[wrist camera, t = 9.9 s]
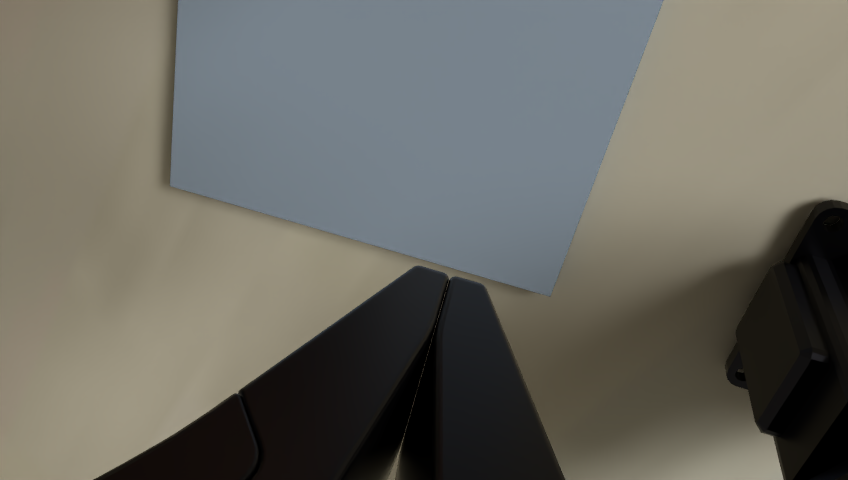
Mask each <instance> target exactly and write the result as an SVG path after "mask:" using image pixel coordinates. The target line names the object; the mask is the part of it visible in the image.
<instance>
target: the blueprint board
mask: <svg viewBox="0 0 848 480" xmlns="http://www.w3.org/2000/svg"><path fill="white" fill-rule="evenodd" d="M662 3H663V0H178V16H177V38H176V61H175V84H174V106H173V129H172V151H171V174H170V186H172V187H175V188H178V189H182V190H185V191H189V192H192V193H196V194H199V195H202V196H206V197H209V198H213V199H216V200H220V201H223V202H227V203H230V204H233V205H237V206H240V207H244V208H247V209H251V210H254V211H257V212H261V213H264V214H268V215H271V216H275V217H278V218H281V219H285V220H288V221H292V222H295V223H299V224H302V225H306V226H309V227H312V228H316V229H319V230H323V231H326V232H330V233H333V234H336V235H340V236H343V237H347V238H350V239H354V240H357V241H360V242H364V243H367V244H371V245H374V246H378V247H381V248H385V249H388V250H391V251H395V252H398V253H402V254H405V255H409V256H412V257H415V258H419V259H422V260H426V261H429V262H433V263H436V264H440V265H443V266H446V267H450V268H453V269H457V270H460V271H464V272H467V273H470V274H474V275H477V276H481V277H484V278H488V279H491V280H494V281H498V282H501V283H505V284H508V285H512V286H515V287H519V288H522V289H525V290H529V291H532V292H536V293H539V294H543V295H546V296H549V297H550V296H551V293H552V291H553V288H554V286H555V283H556V280H557V278H558V275H559V273H560V270H561V267H562V265H563V262H564V259H565V257H566V254H567V252H568V249H569V246H570V244H571V241H572V239H573V236H574V233H575V231H576V228H577V225H578V223H579V220H580V218H581V215H582V212H583V210H584V207H585V205H586V202H587V199H588V197H589V194H590V191H591V189H592V186H593V184H594V181H595V178H596V176H597V173H598V170H599V168H600V165H601V163H602V160H603V157H604V155H605V152H606V150H607V147H608V144H609V142H610V139H611V136H612V134H613V131H614V129H615V126H616V123H617V121H618V118H619V116H620V113H621V110H622V108H623V105H624V102H625V100H626V97H627V95H628V92H629V89H630V87H631V84H632V81H633V79H634V76H635V74H636V71H637V68H638V66H639V63H640V61H641V58H642V55H643V53H644V50H645V47H646V45H647V42H648V40H649V37H650V34H651V32H652V29H653V27H654V24H655V21H656V19H657V16H658V13H659V11H660V8H661V6H662Z"/></svg>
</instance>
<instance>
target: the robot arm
mask: <svg viewBox="0 0 848 480" xmlns="http://www.w3.org/2000/svg"><path fill="white" fill-rule="evenodd" d="M831 216H839V217H840V219H839V220H838V221H837V222H836V223H834V224H832V225H825V224H823V222H824V221H825V220H826V219H827V218H828V217H831ZM448 281H449V283H448ZM447 285H448V286H447ZM446 288H447V290H446ZM445 292H446V293H445ZM444 295H445V297H444ZM443 299H444V300H443ZM442 302H443V303H442ZM441 306H442V307H441ZM440 309H441V310H440ZM439 313H440V314H439ZM438 316H439V317H438ZM437 319H438V321H437ZM436 323H437V324H436ZM435 326H436V328H435ZM434 330H435V331H434ZM433 333H434V334H433ZM432 337H433V338H432ZM736 337H737V341H738V342H737V343H736V345H735V347H734V349H733V351H732V352H731V354H730V356H729V358H728V359H727V361H726V364H725V369H726V374H727V378H728V380H729V381H730V383H731V384H733V385H735V386H737V387H741V388H744V389H747V390H748V392H749V396H750V401H751V406H752V410H753V415H754V419H755V423H756V424H757V426H758V428H759V430H760V432H761V433H764V434H768V435H771V436H773V437H774V441H775V445H776V450H777V454H778V458H779V462H780V466H781V471H782V475H783V479H784V480H848V203H845V202H841V201H834V200H830V201H825V202H822V203H821V204H819V205H817V206H816V207H815V208H814V209H813V210H812V212H811V213H810V215H809V217H808V219H807V220H806V222H805V224H804V226H803V227H802V229H801V231H800V233H799V234H798V236H797V238H796V240H795V241H794V243H793V245H792V247H791V249H790V250H789V252H788V254H787V256H786V257H785V259H784V261H781V262H779V263H777V264H775V265H773V266H772V267H771V268H770V270H769V272H768V273H767V275H766V277H765V279H764V280H763V282H762V284H761V286H760V288H759V289H758V291H757V293H756V295H755V296H754V298H753V300H752V302H751V304H750V305H749V307H748V309H747V311H746V313H745V314H744V316H743V318H742V320H741V321H740V323H739V325H738V327H737V329H736ZM431 340H432V341H431ZM430 344H431V345H430ZM429 347H430V348H429ZM428 351H429V352H428ZM427 354H428V355H427ZM426 358H427V359H426ZM425 361H426V362H425ZM424 364H425V366H424ZM423 368H424V369H423ZM742 368H743V369H744V373H742V372H738V370H739V369H742ZM422 371H423V373H422ZM421 375H422V376H421ZM420 378H421V380H420ZM419 382H420V383H419ZM418 385H419V387H418ZM417 389H418V390H417ZM416 392H417V393H416ZM415 395H416V397H415ZM414 399H415V400H414ZM413 402H414V404H413ZM412 406H413V407H412ZM411 409H412V411H411ZM410 413H411V414H410ZM409 416H410V418H409ZM408 420H409V421H408ZM407 423H408V425H407ZM406 427H407V428H406ZM405 430H406V432H405ZM404 433H405V435H404ZM403 437H404V439H403ZM402 440H403V443H402ZM401 443H402V447H401V451H400V455H399V461H398V466H397V472H396V478H395V480H565V478H564V476H563V473H562V471H561V468H560V466H559V464H558V461H557V459H556V456H555V454H554V451H553V449H552V447H551V444H550V442H549V439H548V437H547V434H546V432H545V430H544V427H543V425H542V422H541V420H540V417H539V415H538V413H537V410H536V408H535V405H534V403H533V401H532V398H531V396H530V393H529V391H528V388H527V386H526V384H525V381H524V379H523V376H522V374H521V371H520V369H519V367H518V364H517V362H516V359H515V357H514V354H513V352H512V350H511V347H510V345H509V342H508V340H507V337H506V335H505V333H504V330H503V328H502V325H501V323H500V321H499V318H498V316H497V313H496V311H495V308H494V306H493V304H492V301H491V299H490V296H489V294H488V291H487V289H486V287H485V286H484V285H483V284H481V283H478V282H474V281H470V280H467V279H463V278H460V277H452V278H451V279H450V280H449V278H448V275H447V274H445V273H443V272H439V271H436V270H432V269H429V268H426V267H422V266H415V267H413V268H412V269H410V270H409V271H407V272H406V273H404V274H403V275H402V276H400V277H399V278H397V279H396V280H395V281H393V282H392V283H390V284H389V285H387V286H386V287H385V288H383V289H382V290H380V291H379V292H378V293H376V294H375V295H373V296H372V297H371V298H369V299H368V300H366V301H365V302H363V303H362V304H361V305H359V306H358V307H356V308H355V309H354V310H352V311H351V312H349V313H348V314H346V315H345V316H344V317H342V318H341V319H339V320H338V321H337V322H335V323H334V324H332V325H331V326H330V327H328V328H327V329H325V330H324V331H322V332H321V333H320V334H318V335H317V336H315V337H314V338H313V339H311V340H310V341H308V342H307V343H305V344H304V345H303V346H301V347H300V348H298V349H297V350H296V351H294V352H293V353H291V354H290V355H289V356H287V357H286V358H284V359H283V360H281V361H280V362H279V363H277V364H276V365H274V366H273V367H272V368H270V369H269V370H267V371H266V372H264V373H263V374H262V375H260V376H259V377H257V378H256V379H255V380H253V381H252V382H250V383H249V384H247V385H246V386H245V387H243V388H242V389H240V390H239V392H238V394H233V395H231V396H230V397H228V398H227V399H226V400H224V401H223V402H221V403H220V404H219V405H217V406H216V407H214V408H213V409H212V410H210V411H209V412H207V413H206V414H204V415H203V416H201V417H200V418H198V419H197V420H195V421H193V422H192V423H190V424H189V425H187V426H186V427H184V428H183V429H181V430H180V431H178V432H177V433H175V434H174V435H172V436H170V437H169V438H167V439H165V440H163V441H162V442H160V443H158V444H156V445H155V446H153V447H151V448H150V449H148V450H146V451H144V452H143V453H141V454H139V455H137V456H136V457H134V458H132V459H130V460H129V461H127V462H125V463H123V464H121V465H120V466H118V467H116V468H114V469H112V470H110V471H109V472H107V473H105V474H103V475H101V476H99V477H97V478H96V479H94V480H387V479H388V476H389V474H390V472H391V470H392V467H393V465H394V462H395V460H396V457H397V455H398V452H399V449H400V446H401Z"/></svg>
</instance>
